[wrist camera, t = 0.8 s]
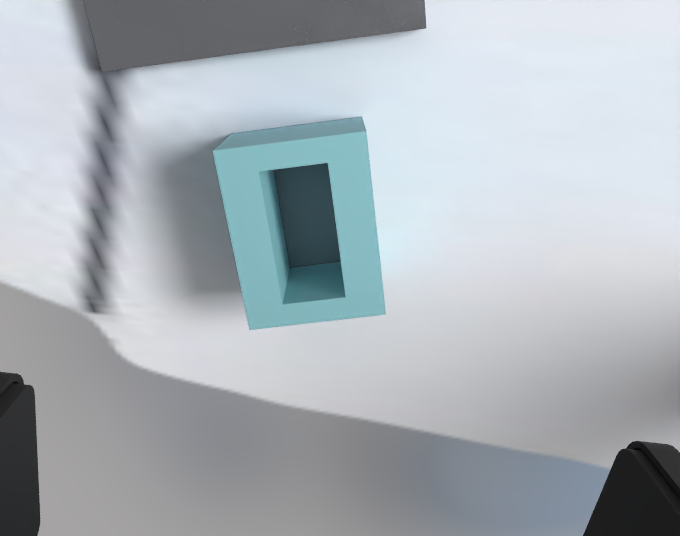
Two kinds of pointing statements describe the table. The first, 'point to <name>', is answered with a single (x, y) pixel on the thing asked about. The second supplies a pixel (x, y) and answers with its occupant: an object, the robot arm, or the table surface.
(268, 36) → the key base
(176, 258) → the table surface
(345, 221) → the block with rectangular hole
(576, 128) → the table surface
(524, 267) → the table surface
